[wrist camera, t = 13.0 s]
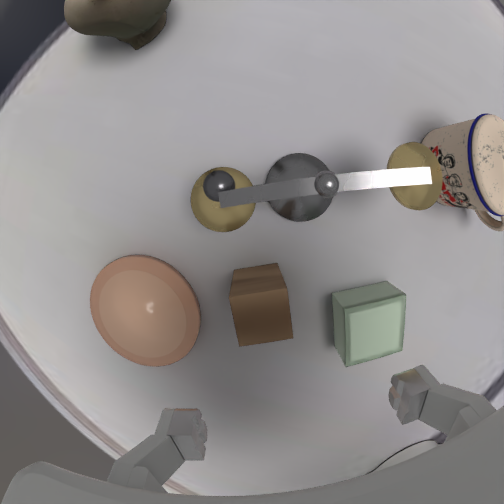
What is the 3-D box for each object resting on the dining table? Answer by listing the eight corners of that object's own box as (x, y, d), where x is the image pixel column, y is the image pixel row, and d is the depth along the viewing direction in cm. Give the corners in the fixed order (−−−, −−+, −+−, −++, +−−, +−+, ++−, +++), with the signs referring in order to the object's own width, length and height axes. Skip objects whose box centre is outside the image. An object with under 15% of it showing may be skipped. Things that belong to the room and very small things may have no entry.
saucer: (212, 356, 28) (211, 363, 26) (116, 361, 28) (111, 367, 27) (185, 245, 25) (182, 247, 24) (82, 264, 25) (76, 267, 24)
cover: (386, 332, 27) (402, 350, 23) (334, 345, 27) (345, 367, 23) (386, 281, 26) (406, 294, 22) (331, 293, 26) (344, 309, 22)
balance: (386, 208, 25) (460, 221, 14) (211, 235, 25) (182, 266, 14) (378, 147, 23) (448, 127, 12) (199, 169, 24) (162, 152, 13)
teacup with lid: (400, 150, 23) (480, 133, 12) (447, 114, 22) (518, 94, 11) (447, 245, 25) (521, 271, 14) (487, 202, 24) (556, 213, 13)
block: (282, 302, 26) (293, 338, 20) (241, 309, 26) (239, 346, 20) (277, 262, 26) (287, 287, 19) (234, 269, 26) (228, 297, 19)
